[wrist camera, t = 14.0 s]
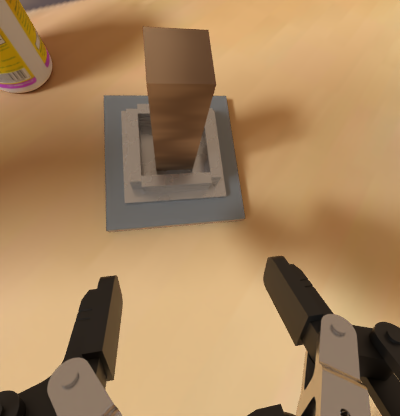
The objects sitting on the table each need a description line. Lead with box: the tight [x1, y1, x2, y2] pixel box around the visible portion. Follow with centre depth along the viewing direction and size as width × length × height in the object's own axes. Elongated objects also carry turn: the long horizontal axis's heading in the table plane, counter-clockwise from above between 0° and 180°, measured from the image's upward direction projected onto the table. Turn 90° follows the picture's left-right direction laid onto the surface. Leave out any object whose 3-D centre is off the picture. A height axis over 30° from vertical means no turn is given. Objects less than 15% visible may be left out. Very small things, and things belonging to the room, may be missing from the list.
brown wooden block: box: [143, 27, 216, 171], centre depth 17 cm, size 4×4×11 cm
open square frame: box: [121, 104, 226, 205], centre depth 22 cm, size 10×10×3 cm
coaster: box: [104, 96, 245, 232], centre depth 24 cm, size 13×14×1 cm
